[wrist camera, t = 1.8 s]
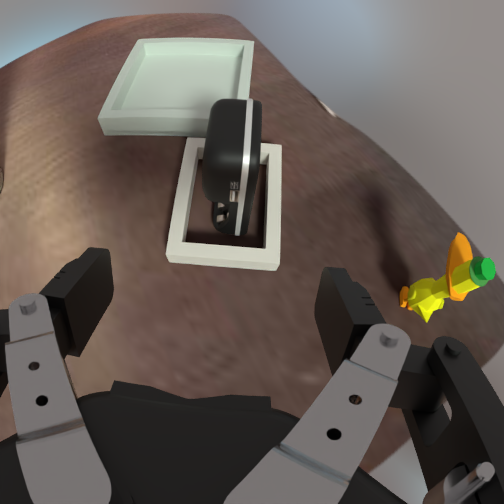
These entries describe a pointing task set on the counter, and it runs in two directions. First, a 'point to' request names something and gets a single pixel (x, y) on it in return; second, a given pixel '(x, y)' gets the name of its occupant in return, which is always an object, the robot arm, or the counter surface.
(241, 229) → the battery charger
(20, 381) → the robot arm
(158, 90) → the tray
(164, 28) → the counter surface
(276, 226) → the white rectangular frame
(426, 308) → the toy figure
